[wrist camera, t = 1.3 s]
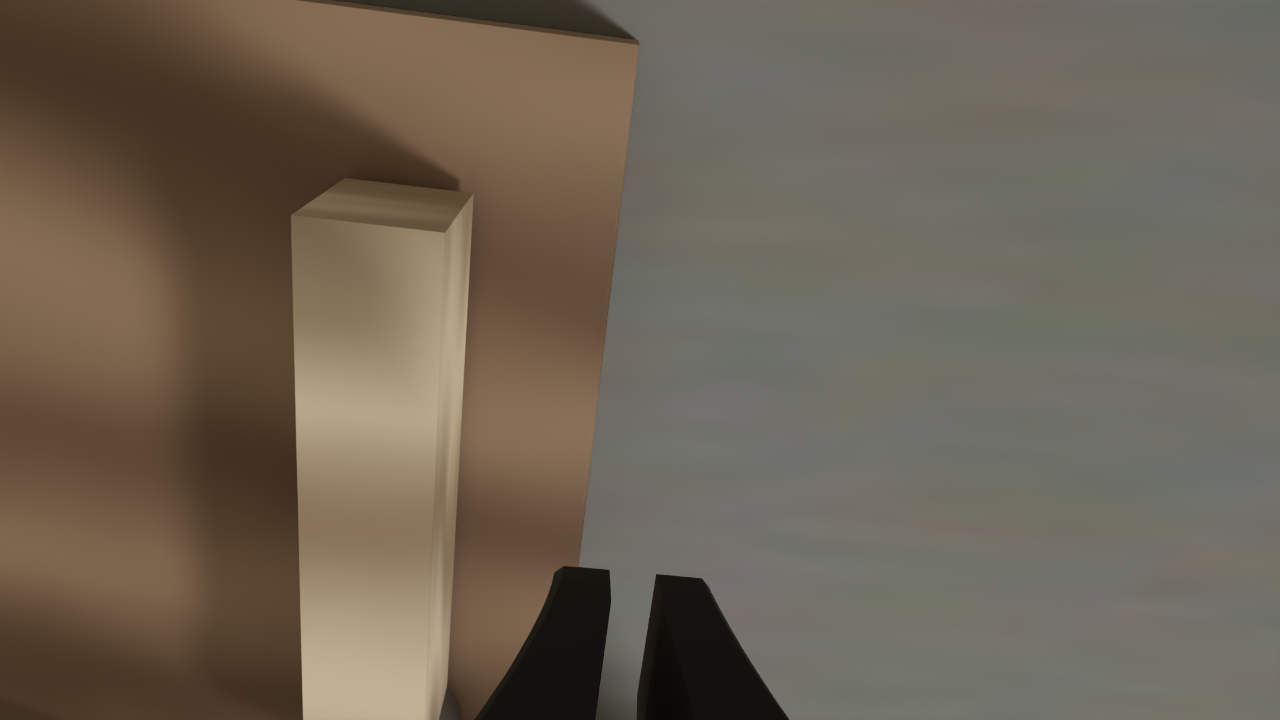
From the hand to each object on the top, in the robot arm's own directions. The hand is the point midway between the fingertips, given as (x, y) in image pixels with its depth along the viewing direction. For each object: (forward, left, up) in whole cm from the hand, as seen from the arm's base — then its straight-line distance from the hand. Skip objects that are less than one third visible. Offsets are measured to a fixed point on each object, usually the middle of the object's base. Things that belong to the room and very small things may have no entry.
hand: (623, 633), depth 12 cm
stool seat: (-3, +10, -9) cm, 14 cm away
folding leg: (-3, +4, -7) cm, 9 cm away
